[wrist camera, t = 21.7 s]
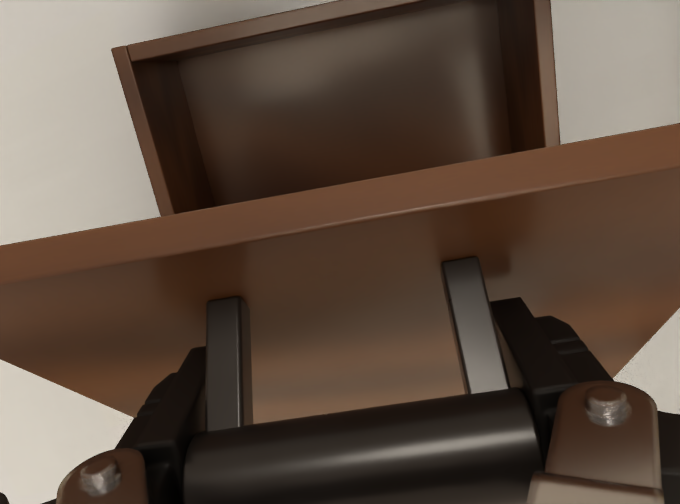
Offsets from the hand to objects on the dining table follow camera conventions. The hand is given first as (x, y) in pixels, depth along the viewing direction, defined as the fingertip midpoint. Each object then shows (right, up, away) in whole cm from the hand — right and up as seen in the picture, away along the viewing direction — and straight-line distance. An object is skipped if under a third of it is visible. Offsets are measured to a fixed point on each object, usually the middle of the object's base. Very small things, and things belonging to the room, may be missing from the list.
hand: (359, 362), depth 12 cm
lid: (+1, -1, +5) cm, 5 cm away
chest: (+1, +5, +16) cm, 17 cm away
